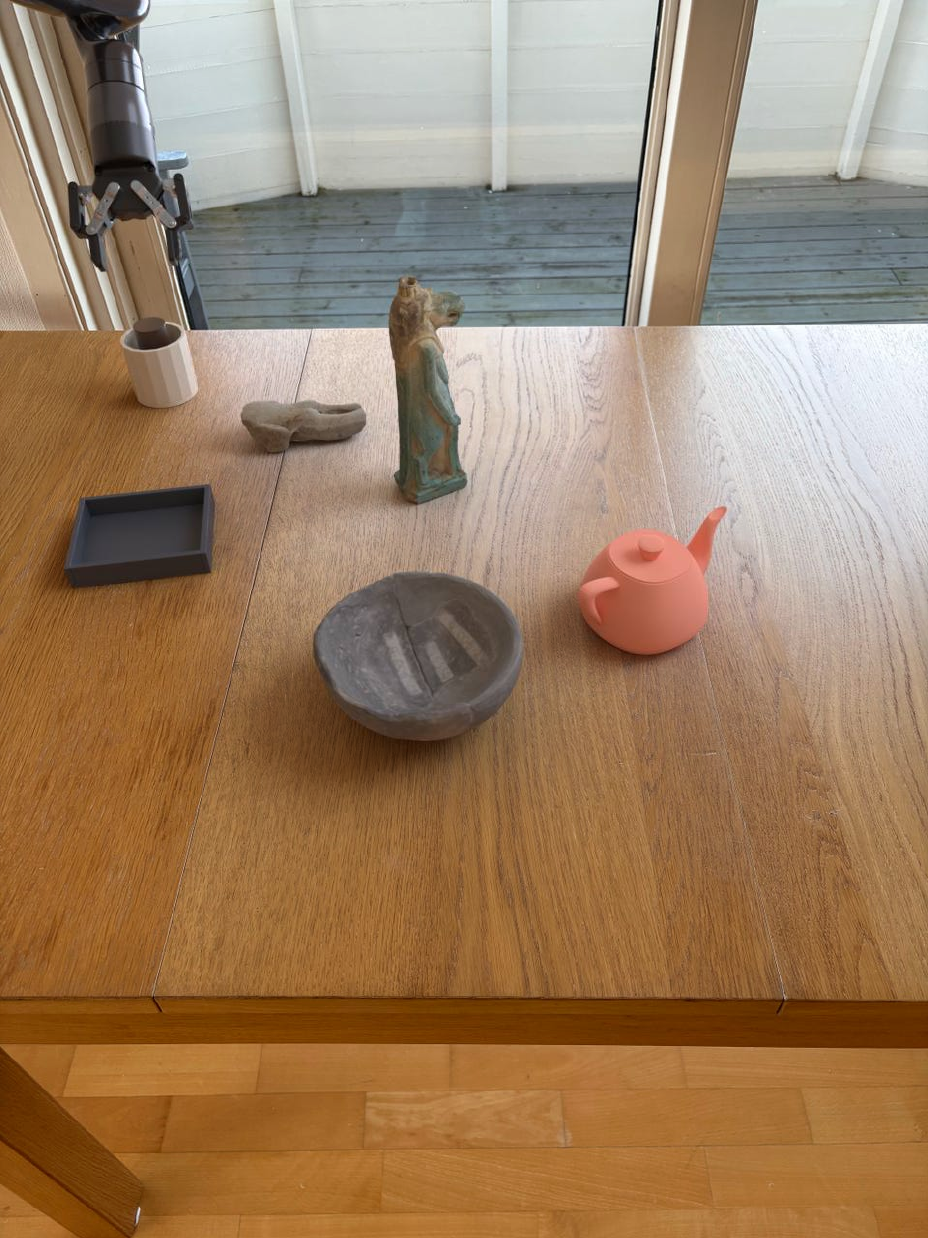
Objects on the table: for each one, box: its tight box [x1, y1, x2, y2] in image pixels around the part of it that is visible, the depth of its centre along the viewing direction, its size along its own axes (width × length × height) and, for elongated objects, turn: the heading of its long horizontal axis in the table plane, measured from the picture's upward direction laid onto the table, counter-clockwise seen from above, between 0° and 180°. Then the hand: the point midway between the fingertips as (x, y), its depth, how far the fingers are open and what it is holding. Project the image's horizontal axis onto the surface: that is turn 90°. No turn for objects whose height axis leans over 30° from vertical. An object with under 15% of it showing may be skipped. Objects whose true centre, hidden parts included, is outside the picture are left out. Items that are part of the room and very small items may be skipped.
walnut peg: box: [132, 316, 171, 350], centre depth 122 cm, size 4×4×9 cm
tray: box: [63, 483, 216, 589], centre depth 102 cm, size 14×12×3 cm
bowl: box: [312, 571, 524, 742], centre depth 83 cm, size 18×18×8 cm
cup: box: [119, 321, 199, 409], centre depth 123 cm, size 8×8×8 cm
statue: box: [388, 275, 468, 505], centre depth 101 cm, size 7×8×25 cm
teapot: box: [577, 505, 728, 656], centre depth 90 cm, size 12×18×10 cm
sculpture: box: [240, 399, 367, 453], centre depth 116 cm, size 7×5×15 cm
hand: (138, 266), depth 115 cm, fingers open, 8 cm apart
